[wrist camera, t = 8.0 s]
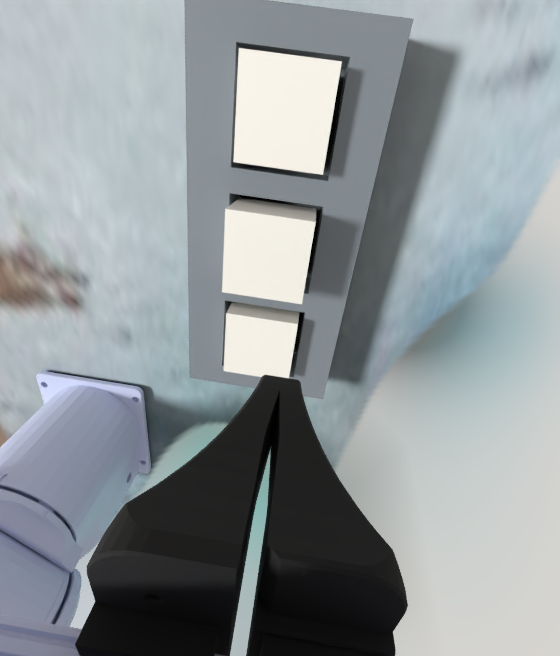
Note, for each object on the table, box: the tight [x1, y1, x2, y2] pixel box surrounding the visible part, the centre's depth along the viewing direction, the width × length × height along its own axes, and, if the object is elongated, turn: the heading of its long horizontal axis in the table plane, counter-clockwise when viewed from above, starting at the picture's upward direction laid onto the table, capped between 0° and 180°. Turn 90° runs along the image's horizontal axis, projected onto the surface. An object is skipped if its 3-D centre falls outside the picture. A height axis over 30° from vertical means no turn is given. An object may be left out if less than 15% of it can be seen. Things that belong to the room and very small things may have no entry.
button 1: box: [224, 302, 299, 378], centre depth 20 cm, size 4×4×3 cm
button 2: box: [233, 48, 342, 175], centre depth 15 cm, size 4×4×3 cm
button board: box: [185, 0, 413, 399], centre depth 18 cm, size 18×8×2 cm, turn 174°
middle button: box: [222, 198, 316, 304], centre depth 16 cm, size 4×4×3 cm
